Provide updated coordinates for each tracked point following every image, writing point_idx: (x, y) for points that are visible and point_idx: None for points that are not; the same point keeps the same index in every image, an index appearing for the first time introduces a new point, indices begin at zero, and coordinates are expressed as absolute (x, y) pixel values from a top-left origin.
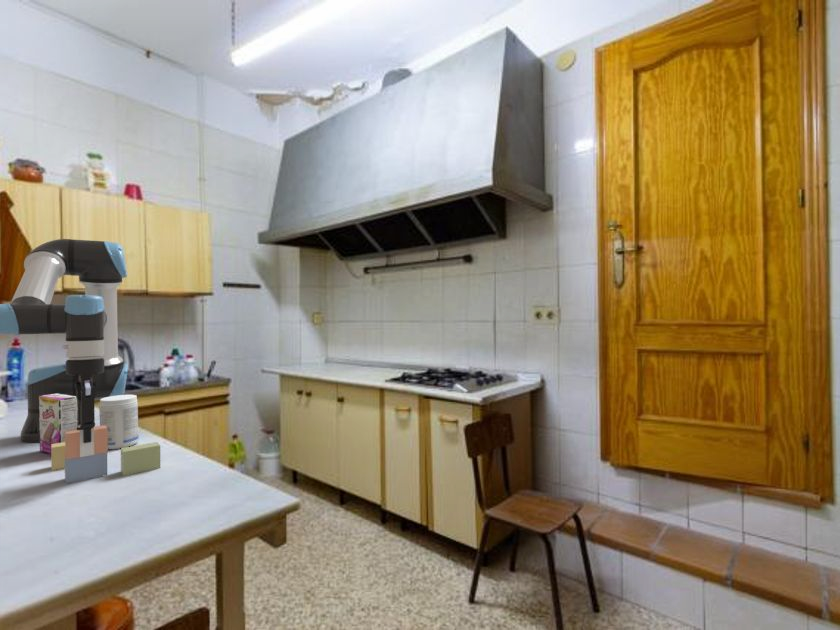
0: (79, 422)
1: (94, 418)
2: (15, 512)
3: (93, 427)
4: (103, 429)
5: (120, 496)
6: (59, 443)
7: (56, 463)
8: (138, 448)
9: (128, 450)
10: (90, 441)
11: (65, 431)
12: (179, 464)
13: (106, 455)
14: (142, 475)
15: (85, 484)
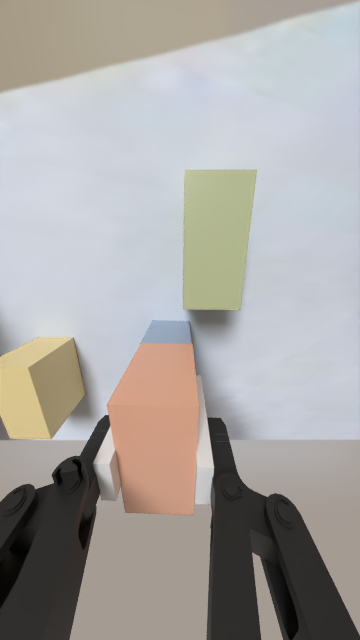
0: (93, 519)
1: (336, 588)
2: (274, 433)
3: (239, 480)
4: (198, 416)
5: (351, 318)
6: (10, 425)
7: (76, 398)
8: (235, 259)
9: (233, 293)
10: (222, 422)
11: (139, 512)
12: (238, 142)
13: (190, 341)
14: (254, 258)
15: (220, 358)
